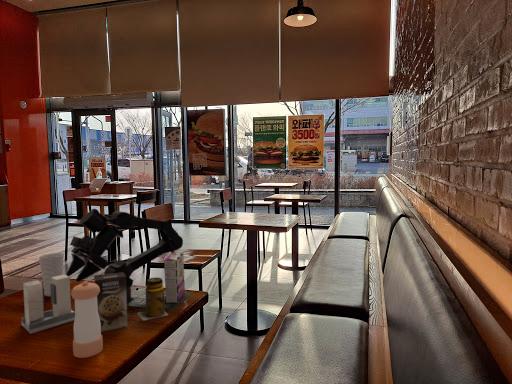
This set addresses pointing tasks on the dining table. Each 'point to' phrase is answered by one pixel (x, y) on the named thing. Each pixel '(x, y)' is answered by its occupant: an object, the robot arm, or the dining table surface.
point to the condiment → (154, 300)
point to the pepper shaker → (86, 321)
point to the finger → (60, 295)
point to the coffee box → (112, 300)
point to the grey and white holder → (40, 310)
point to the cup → (50, 269)
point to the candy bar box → (174, 277)
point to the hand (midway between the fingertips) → (71, 278)
